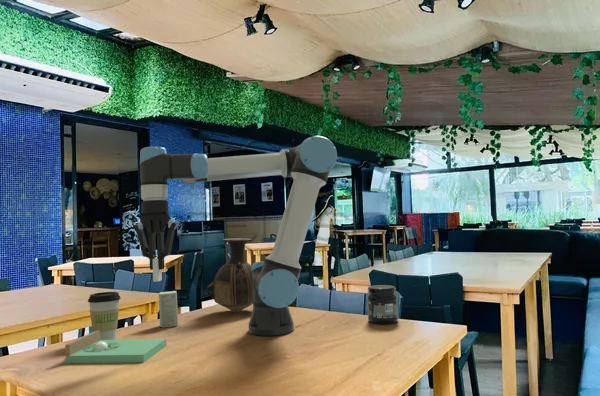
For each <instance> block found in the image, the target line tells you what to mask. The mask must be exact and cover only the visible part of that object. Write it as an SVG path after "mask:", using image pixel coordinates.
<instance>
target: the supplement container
mask: <svg viewBox="0 0 600 396" xmlns="http://www.w3.org/2000/svg"><path fill="white" fill-rule="evenodd" d="M367 293H368V295H367V296H366V300H367V301H366V303H367V304H366V305H367V320H368V321H369V322H370V323H371V324H375V325H376V324H377V325H390V324H392V325H393V324H394V323H397V322H398V321H399V313H398V296H397V295H396V286H394V285H389V284H388V285H387V284H375V285H370V286H368V287H367Z"/></svg>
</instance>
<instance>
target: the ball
mask: <svg viewBox="0 0 600 396" xmlns="http://www.w3.org/2000/svg"><path fill="white" fill-rule="evenodd" d="M106 348H108V345H107V343H105V342H98V343H97V344H96V345H95V348H94V350H101V349H106Z"/></svg>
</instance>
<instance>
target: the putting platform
mask: <svg viewBox="0 0 600 396" xmlns="http://www.w3.org/2000/svg"><path fill="white" fill-rule="evenodd" d="M98 342H105V343H107V345H108V348H106V349H101V350H94V348H95V345H96V344H97V343H98ZM166 346H167V338H148V339H147V338H142V339H137V338H136V339H115V340H100V330H96V331H94V332H93V331H92V332H90V333H87V334H85V335H83V336H81V337H79V338H77V339H74V340H72V341H70V342H68V343H66V344H65V346H64V349H65V350H64V351H65V354H64V355H65V359H64V361H65V364H100V363H101V364H103V363H104V364H108V363H109V364H110V363H112V364H113V363H119V364H120V363H124V364H125V363H145V362H146V361H147V360H149V359H150V358H151V357H153V356H154V355H155V354H157V353H158V352H160V351H161V350H162V349H164V348H165V347H166Z"/></svg>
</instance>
